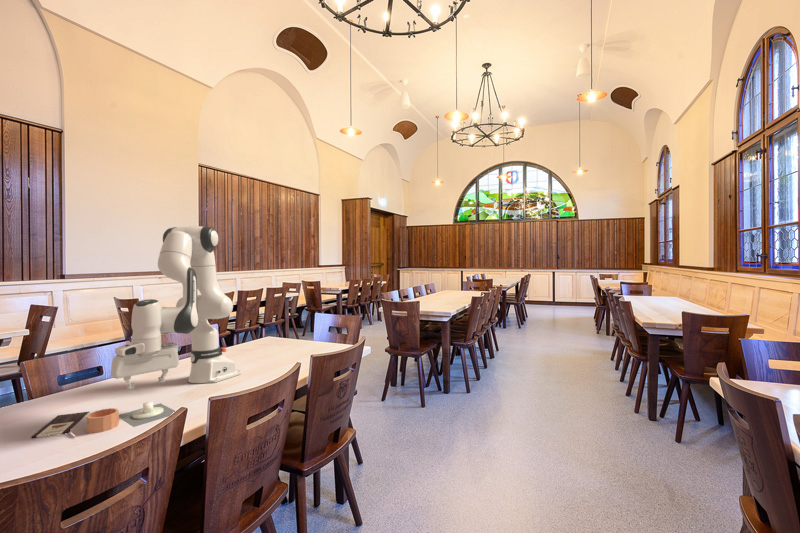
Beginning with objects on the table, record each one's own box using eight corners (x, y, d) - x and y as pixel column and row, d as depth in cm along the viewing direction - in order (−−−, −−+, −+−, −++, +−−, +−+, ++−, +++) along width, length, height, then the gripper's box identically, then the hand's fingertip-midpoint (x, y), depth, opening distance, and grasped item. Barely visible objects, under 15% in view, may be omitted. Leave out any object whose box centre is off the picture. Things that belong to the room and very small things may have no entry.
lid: (156, 407, 140) (156, 397, 140) (168, 412, 135) (168, 402, 135) (127, 415, 133) (127, 404, 133) (138, 421, 127) (138, 410, 127)
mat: (160, 404, 144) (160, 403, 144) (179, 413, 135) (179, 412, 135) (116, 416, 133) (116, 415, 133) (133, 427, 123) (133, 426, 123)
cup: (113, 421, 129) (113, 406, 129) (122, 427, 124) (121, 411, 124) (83, 429, 122) (83, 414, 122) (91, 436, 118) (91, 420, 118)
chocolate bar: (89, 411, 137) (67, 431, 120) (89, 414, 137) (67, 434, 120) (57, 415, 133) (30, 436, 117) (58, 418, 133) (30, 439, 117)
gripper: (174, 340, 144) (174, 377, 143) (109, 349, 127) (108, 391, 127) (181, 342, 140) (182, 379, 140) (115, 352, 123) (115, 394, 123)
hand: (146, 385), depth 133 cm, fingers open, 8 cm apart
